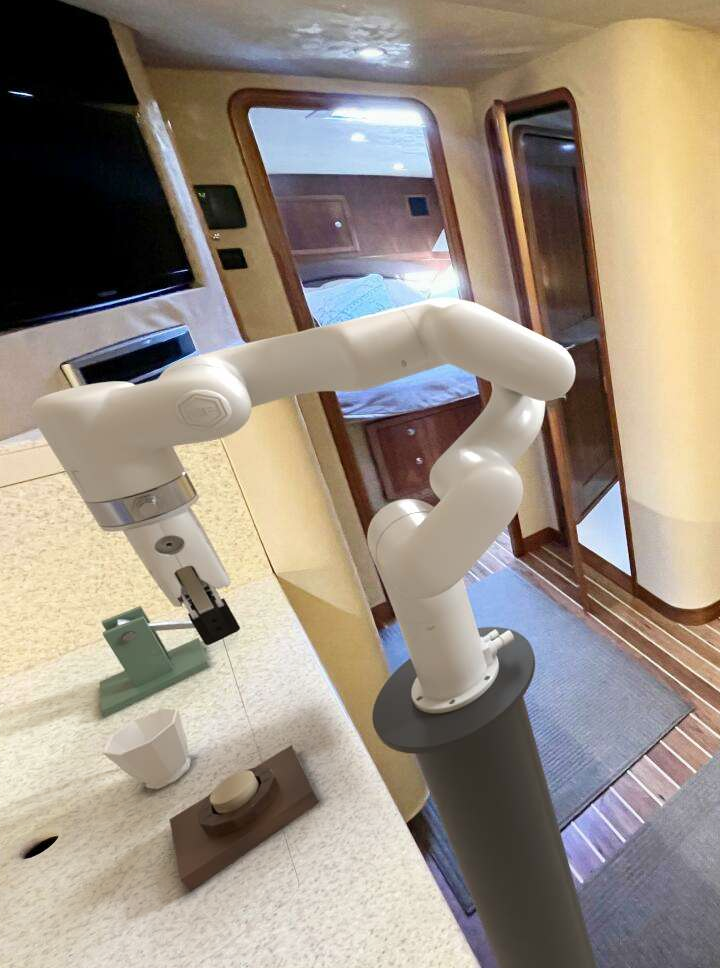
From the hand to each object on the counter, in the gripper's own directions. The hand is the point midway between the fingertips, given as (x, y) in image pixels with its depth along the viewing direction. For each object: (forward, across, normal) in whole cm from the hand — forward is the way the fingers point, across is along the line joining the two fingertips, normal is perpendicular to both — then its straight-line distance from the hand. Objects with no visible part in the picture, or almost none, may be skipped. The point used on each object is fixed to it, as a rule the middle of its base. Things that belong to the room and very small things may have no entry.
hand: (222, 634), depth 63 cm
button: (+18, -4, +6) cm, 19 cm away
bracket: (+22, +38, +10) cm, 45 cm away
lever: (+16, +38, +6) cm, 41 cm away
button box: (+22, -4, +6) cm, 23 cm away
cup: (+22, +14, +11) cm, 28 cm away
